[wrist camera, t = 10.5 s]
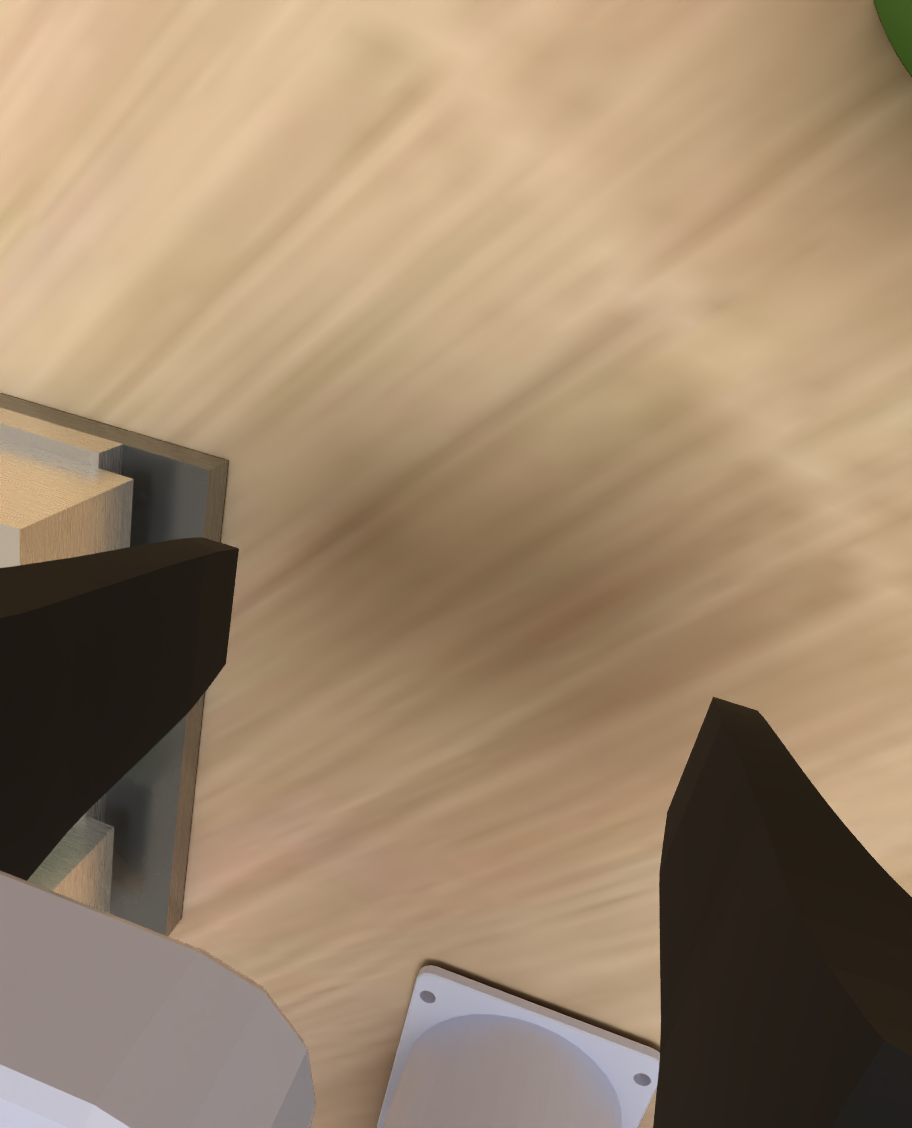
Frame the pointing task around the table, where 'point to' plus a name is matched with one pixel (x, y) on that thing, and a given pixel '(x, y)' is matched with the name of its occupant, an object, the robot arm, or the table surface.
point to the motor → (898, 27)
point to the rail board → (174, 757)
